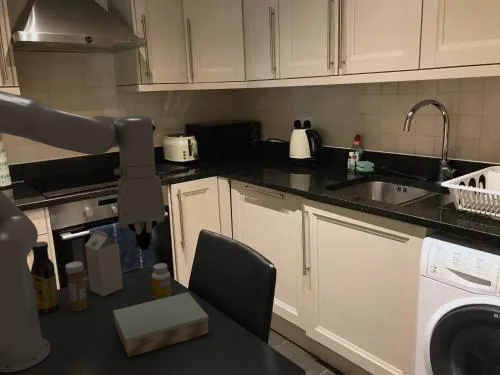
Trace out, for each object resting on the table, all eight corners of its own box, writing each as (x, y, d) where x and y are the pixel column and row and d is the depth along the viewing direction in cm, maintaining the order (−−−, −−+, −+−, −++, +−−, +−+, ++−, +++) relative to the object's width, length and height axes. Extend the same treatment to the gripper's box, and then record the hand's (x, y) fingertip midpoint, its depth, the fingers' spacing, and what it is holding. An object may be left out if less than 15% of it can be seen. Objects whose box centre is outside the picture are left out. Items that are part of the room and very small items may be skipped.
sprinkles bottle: (89, 308, 125) (84, 264, 122) (73, 313, 122) (67, 268, 119) (85, 302, 128) (80, 259, 125) (69, 307, 126) (63, 263, 123)
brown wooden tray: (128, 357, 101) (126, 341, 101) (115, 327, 114) (114, 313, 114) (208, 333, 110) (207, 319, 110) (188, 308, 123) (187, 295, 122)
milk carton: (110, 282, 141) (104, 226, 137) (123, 288, 137) (117, 230, 132) (90, 290, 136) (83, 232, 131) (103, 297, 131) (96, 237, 127)
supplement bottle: (151, 294, 132) (149, 264, 130) (169, 290, 134) (167, 261, 132) (155, 301, 127) (153, 270, 125) (173, 298, 130) (171, 267, 127)
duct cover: (126, 342, 100) (125, 339, 100) (113, 313, 113) (112, 310, 113) (208, 319, 109) (208, 316, 109) (187, 294, 123) (187, 292, 122)
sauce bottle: (32, 309, 125) (22, 243, 120) (53, 301, 129) (45, 237, 125) (41, 317, 121) (31, 249, 116) (63, 308, 125) (55, 242, 121)
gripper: (107, 178, 92) (114, 259, 96) (175, 171, 99) (179, 247, 103) (101, 172, 99) (108, 249, 103) (165, 166, 106) (169, 238, 110)
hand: (143, 248), depth 103 cm, fingers closed
